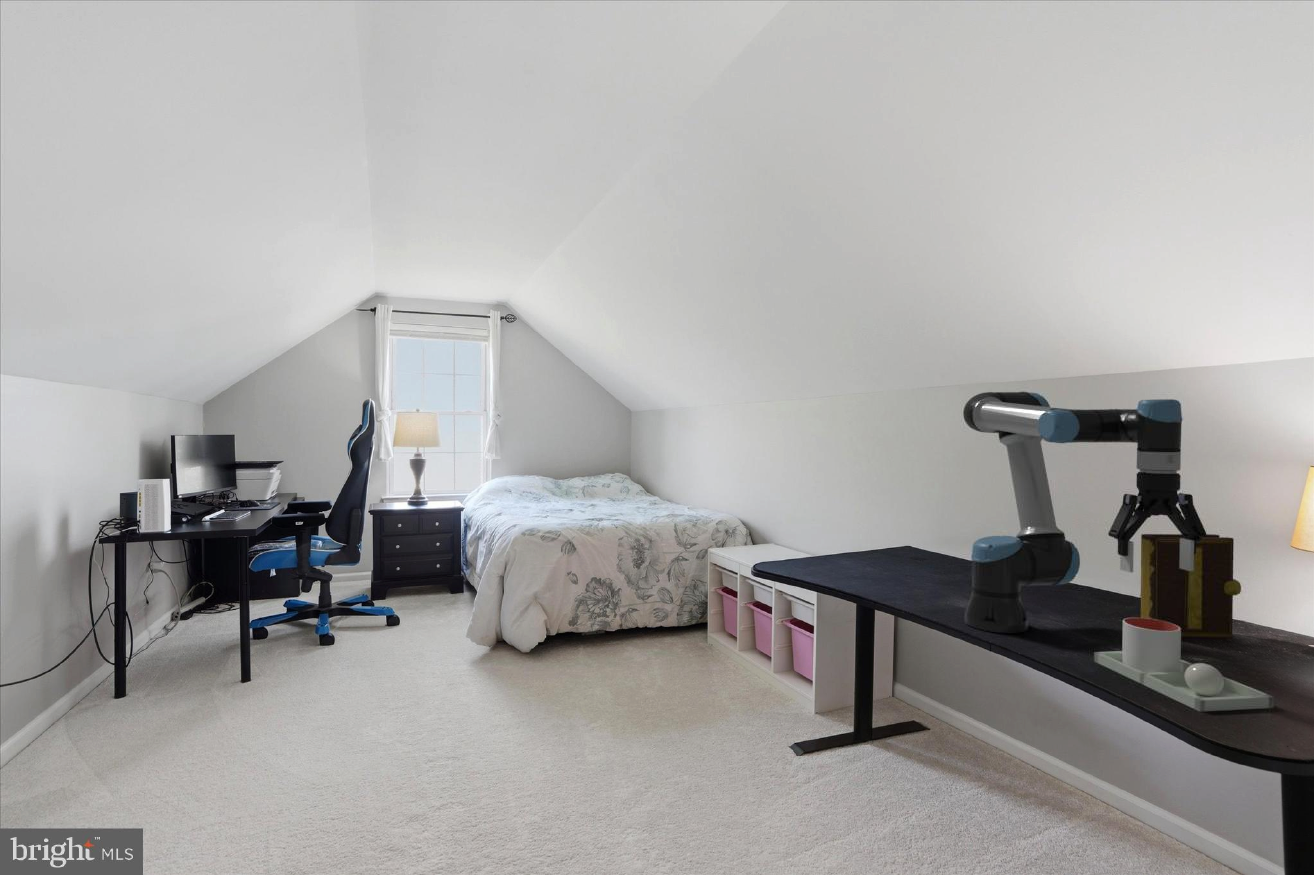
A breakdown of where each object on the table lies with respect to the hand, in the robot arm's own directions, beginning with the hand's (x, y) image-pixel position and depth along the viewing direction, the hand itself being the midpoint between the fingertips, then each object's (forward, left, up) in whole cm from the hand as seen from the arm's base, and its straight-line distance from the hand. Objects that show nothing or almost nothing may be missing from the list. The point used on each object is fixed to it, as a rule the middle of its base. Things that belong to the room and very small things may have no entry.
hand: (1156, 570), depth 143 cm
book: (-25, +32, -23) cm, 46 cm away
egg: (+13, -2, -21) cm, 25 cm away
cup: (+1, -2, -22) cm, 22 cm away
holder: (+7, -2, -23) cm, 24 cm away
